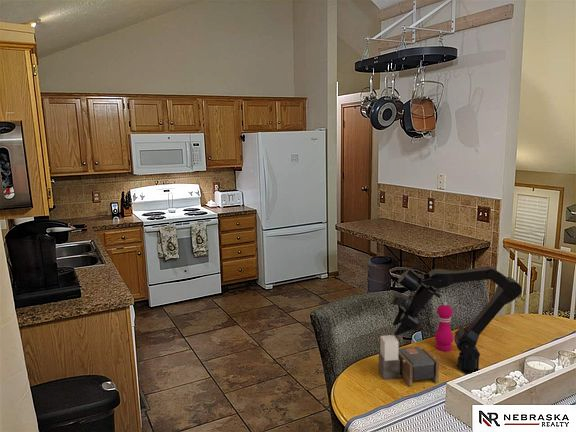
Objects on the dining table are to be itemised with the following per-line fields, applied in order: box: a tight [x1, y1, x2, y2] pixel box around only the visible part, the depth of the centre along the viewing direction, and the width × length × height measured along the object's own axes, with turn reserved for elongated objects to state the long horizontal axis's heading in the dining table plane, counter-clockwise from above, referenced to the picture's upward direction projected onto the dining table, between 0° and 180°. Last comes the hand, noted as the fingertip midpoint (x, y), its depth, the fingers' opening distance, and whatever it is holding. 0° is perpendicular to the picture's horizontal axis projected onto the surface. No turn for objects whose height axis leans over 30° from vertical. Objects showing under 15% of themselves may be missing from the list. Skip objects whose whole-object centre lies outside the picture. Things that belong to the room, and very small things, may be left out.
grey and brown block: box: [398, 346, 434, 381], centre depth 162 cm, size 8×12×6 cm, turn 10°
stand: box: [378, 352, 401, 380], centre depth 164 cm, size 6×6×7 cm
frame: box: [398, 347, 440, 388], centre depth 161 cm, size 12×11×8 cm
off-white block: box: [379, 334, 399, 361], centre depth 163 cm, size 5×6×7 cm
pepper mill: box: [434, 301, 454, 352], centre depth 182 cm, size 7×7×20 cm
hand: (394, 329), depth 169 cm, fingers open, 9 cm apart
